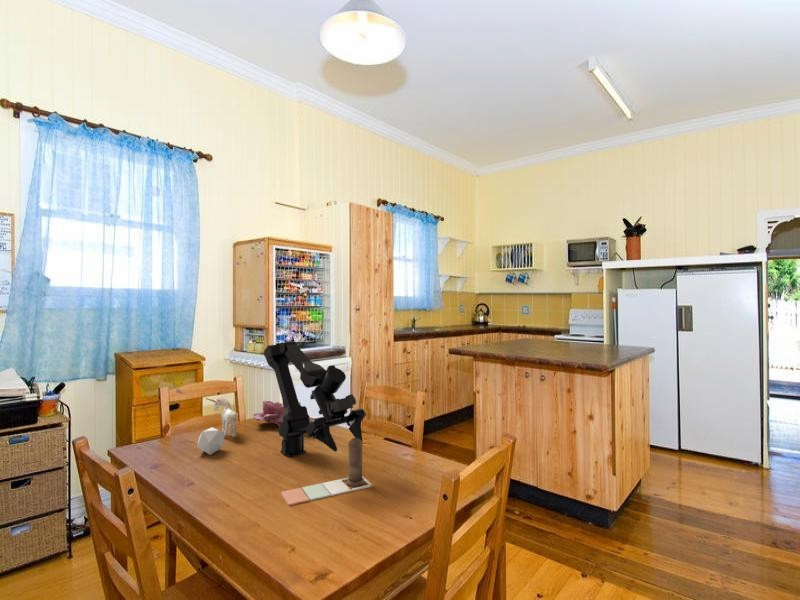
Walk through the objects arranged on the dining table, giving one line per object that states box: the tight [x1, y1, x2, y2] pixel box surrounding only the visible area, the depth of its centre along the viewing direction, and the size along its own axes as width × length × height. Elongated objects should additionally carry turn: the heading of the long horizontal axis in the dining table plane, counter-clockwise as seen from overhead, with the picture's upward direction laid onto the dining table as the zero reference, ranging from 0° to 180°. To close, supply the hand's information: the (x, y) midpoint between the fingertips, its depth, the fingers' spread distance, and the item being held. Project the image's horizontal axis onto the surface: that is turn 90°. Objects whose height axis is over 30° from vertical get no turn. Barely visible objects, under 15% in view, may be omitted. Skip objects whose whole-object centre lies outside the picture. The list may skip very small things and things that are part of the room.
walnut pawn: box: [346, 437, 365, 488], centre depth 124 cm, size 5×5×13 cm
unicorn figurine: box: [205, 397, 238, 439], centre depth 167 cm, size 7×20×13 cm, turn 51°
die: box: [196, 426, 225, 456], centre depth 149 cm, size 8×9×10 cm
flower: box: [252, 400, 285, 428], centre depth 180 cm, size 15×15×10 cm
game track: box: [280, 475, 374, 507], centre depth 120 cm, size 24×8×1 cm, turn 119°
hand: (349, 446), depth 126 cm, fingers open, 9 cm apart
